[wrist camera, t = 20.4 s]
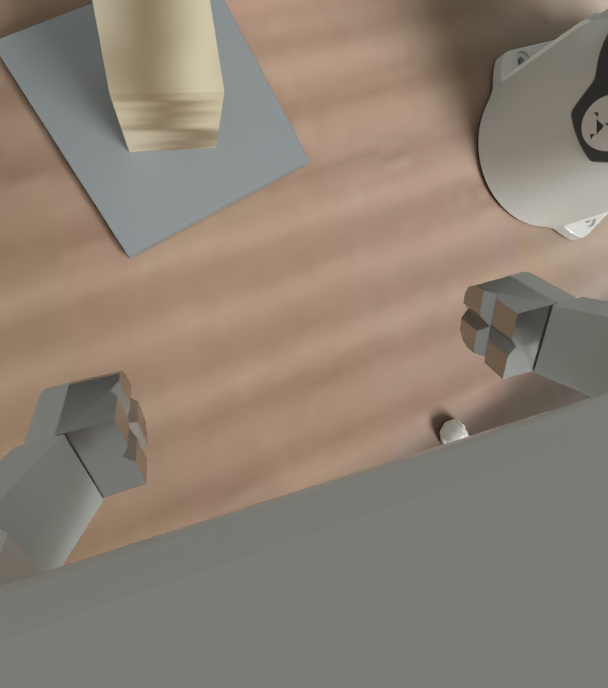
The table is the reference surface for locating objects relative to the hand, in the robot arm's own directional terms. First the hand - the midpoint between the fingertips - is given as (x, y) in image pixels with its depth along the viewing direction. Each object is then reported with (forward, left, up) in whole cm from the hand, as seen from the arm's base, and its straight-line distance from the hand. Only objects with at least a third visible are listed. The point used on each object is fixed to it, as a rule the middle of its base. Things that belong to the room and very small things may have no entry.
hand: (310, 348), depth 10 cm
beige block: (-5, -16, -24) cm, 29 cm away
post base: (-5, -16, -25) cm, 30 cm away
